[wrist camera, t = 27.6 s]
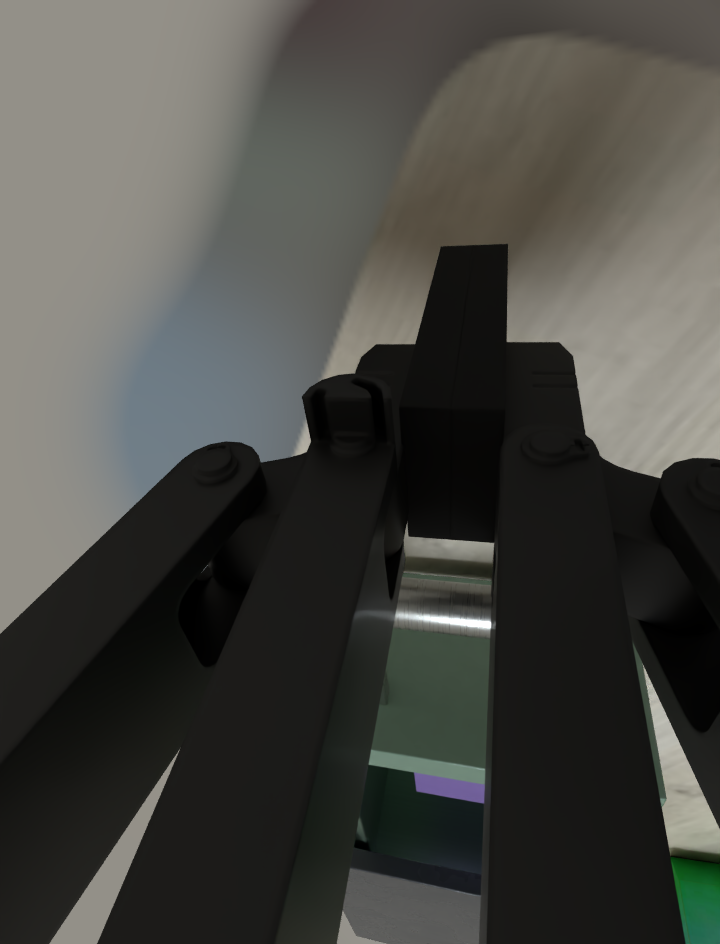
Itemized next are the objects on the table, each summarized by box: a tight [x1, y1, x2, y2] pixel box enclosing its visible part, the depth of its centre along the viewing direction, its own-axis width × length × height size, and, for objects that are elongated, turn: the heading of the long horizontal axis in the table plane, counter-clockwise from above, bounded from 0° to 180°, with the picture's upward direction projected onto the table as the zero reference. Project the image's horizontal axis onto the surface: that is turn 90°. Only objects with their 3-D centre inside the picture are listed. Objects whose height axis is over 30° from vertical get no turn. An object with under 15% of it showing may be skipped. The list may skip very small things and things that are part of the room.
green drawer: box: [354, 573, 667, 874], centre depth 22 cm, size 20×11×7 cm, turn 7°
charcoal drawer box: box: [343, 847, 481, 944], centre depth 31 cm, size 15×13×9 cm
